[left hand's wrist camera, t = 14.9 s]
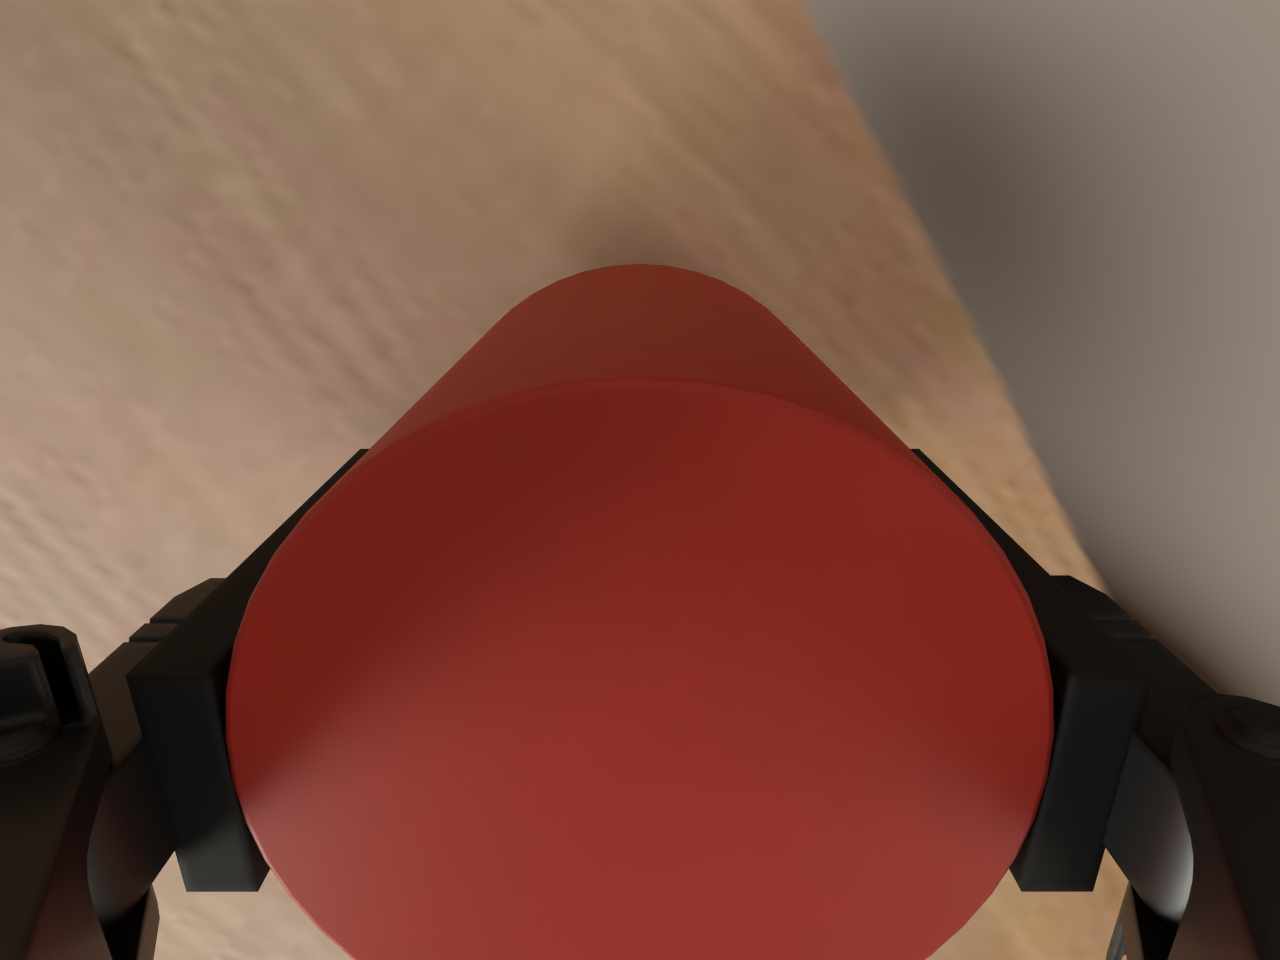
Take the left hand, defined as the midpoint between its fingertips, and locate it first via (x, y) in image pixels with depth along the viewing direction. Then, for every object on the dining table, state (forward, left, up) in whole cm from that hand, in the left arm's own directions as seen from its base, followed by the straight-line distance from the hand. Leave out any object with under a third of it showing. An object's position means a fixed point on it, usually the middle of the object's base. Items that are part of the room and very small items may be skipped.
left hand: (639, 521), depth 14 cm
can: (0, 0, -3) cm, 3 cm away
